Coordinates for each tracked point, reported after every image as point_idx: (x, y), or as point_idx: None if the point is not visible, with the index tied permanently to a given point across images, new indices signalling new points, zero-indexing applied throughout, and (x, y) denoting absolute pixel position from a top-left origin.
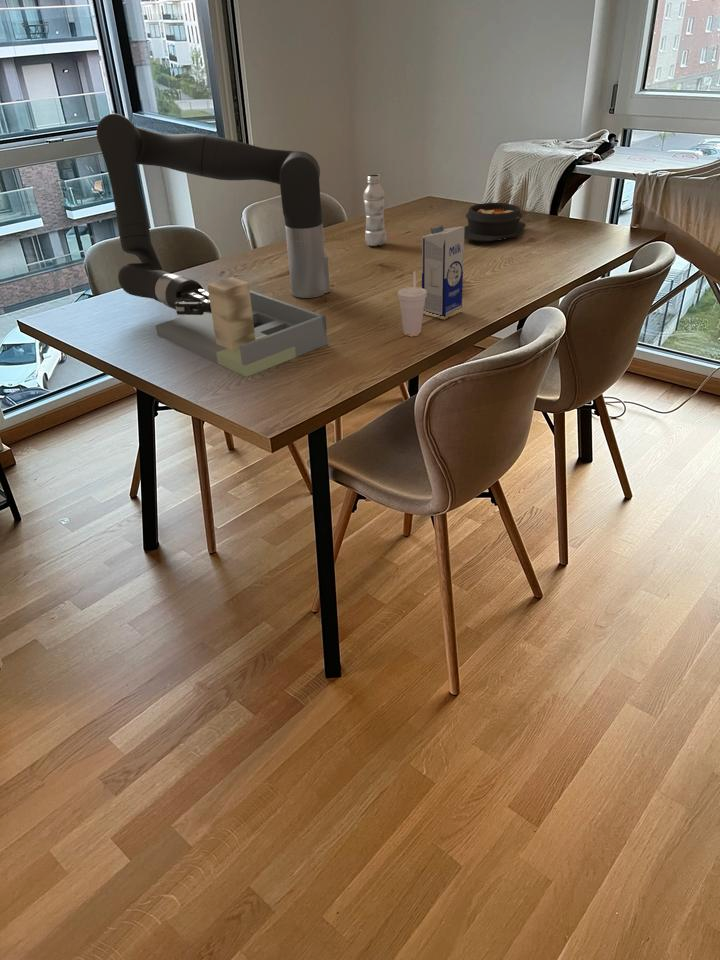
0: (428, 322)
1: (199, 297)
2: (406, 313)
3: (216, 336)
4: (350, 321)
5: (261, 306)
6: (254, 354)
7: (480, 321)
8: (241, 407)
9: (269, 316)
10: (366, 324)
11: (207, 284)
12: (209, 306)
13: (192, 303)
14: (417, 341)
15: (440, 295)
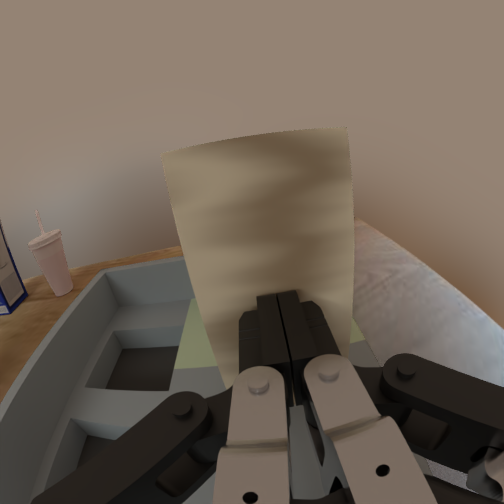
0: (32, 299)
1: (387, 436)
2: (63, 256)
3: None
4: (26, 354)
5: (17, 474)
6: None
7: (32, 281)
8: (364, 244)
9: (52, 449)
10: (36, 334)
11: (345, 129)
12: (337, 349)
13: (458, 379)
14: (84, 278)
15: (13, 271)
